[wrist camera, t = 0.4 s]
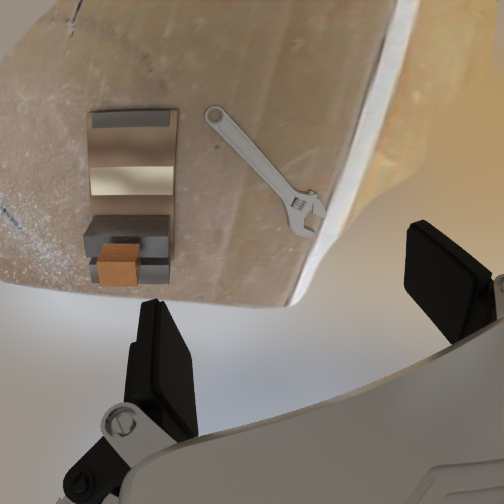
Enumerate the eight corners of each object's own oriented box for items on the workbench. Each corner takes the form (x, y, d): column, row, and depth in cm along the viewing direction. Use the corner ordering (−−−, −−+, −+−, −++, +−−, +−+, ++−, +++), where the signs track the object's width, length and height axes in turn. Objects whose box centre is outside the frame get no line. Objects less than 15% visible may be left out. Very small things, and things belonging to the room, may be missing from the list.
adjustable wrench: (199, 114, 40) (200, 115, 39) (238, 85, 39) (239, 85, 37) (298, 237, 53) (301, 243, 51) (330, 214, 52) (334, 219, 50)
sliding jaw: (94, 215, 41) (69, 261, 31) (170, 215, 44) (165, 262, 33) (96, 235, 43) (74, 285, 33) (170, 236, 45) (166, 286, 35)
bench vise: (91, 111, 36) (71, 119, 29) (178, 109, 39) (175, 115, 32) (100, 253, 47) (89, 282, 40) (174, 253, 50) (172, 284, 43)
